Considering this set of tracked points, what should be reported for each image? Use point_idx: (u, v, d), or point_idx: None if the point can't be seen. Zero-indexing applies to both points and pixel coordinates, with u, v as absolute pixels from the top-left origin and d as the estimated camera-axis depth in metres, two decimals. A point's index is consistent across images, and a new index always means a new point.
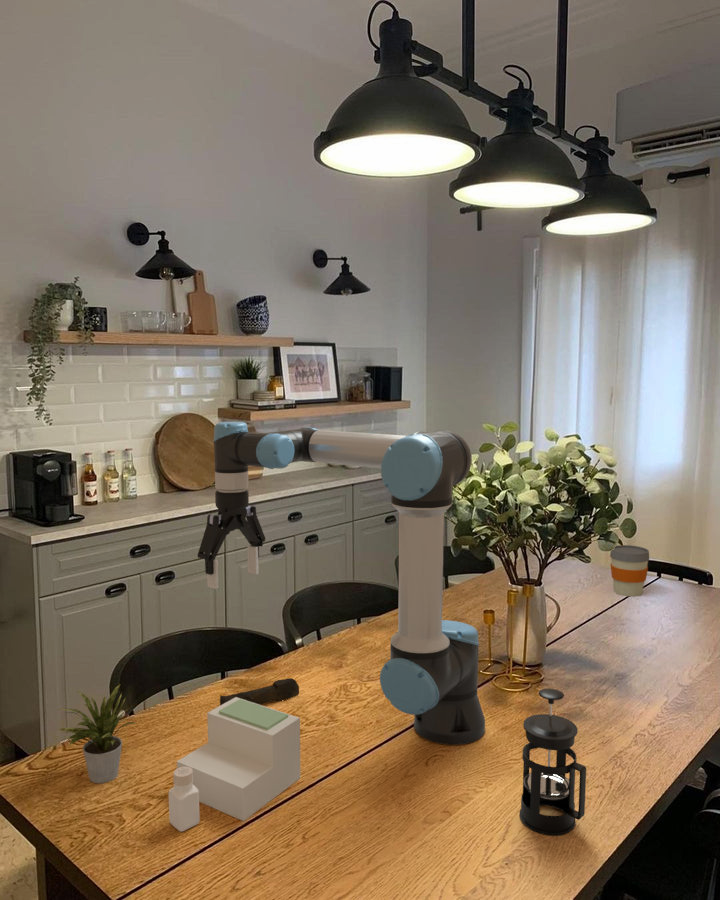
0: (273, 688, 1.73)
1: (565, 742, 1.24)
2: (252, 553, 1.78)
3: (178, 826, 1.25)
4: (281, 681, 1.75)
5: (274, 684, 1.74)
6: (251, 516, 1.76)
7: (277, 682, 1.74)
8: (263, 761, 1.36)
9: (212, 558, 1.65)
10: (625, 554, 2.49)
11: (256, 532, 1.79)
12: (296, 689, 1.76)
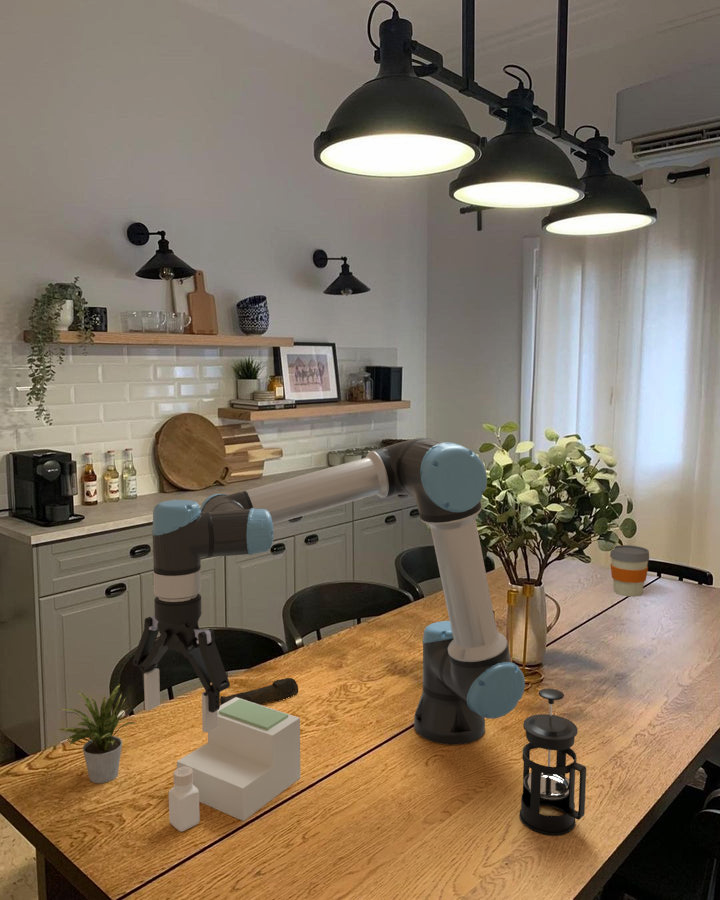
0: (273, 688, 1.73)
1: (565, 742, 1.24)
2: None
3: (178, 826, 1.25)
4: (280, 681, 1.75)
5: (274, 684, 1.74)
6: None
7: (277, 682, 1.75)
8: (263, 761, 1.36)
9: (141, 668, 1.28)
10: (625, 554, 2.49)
11: None
12: (295, 688, 1.77)
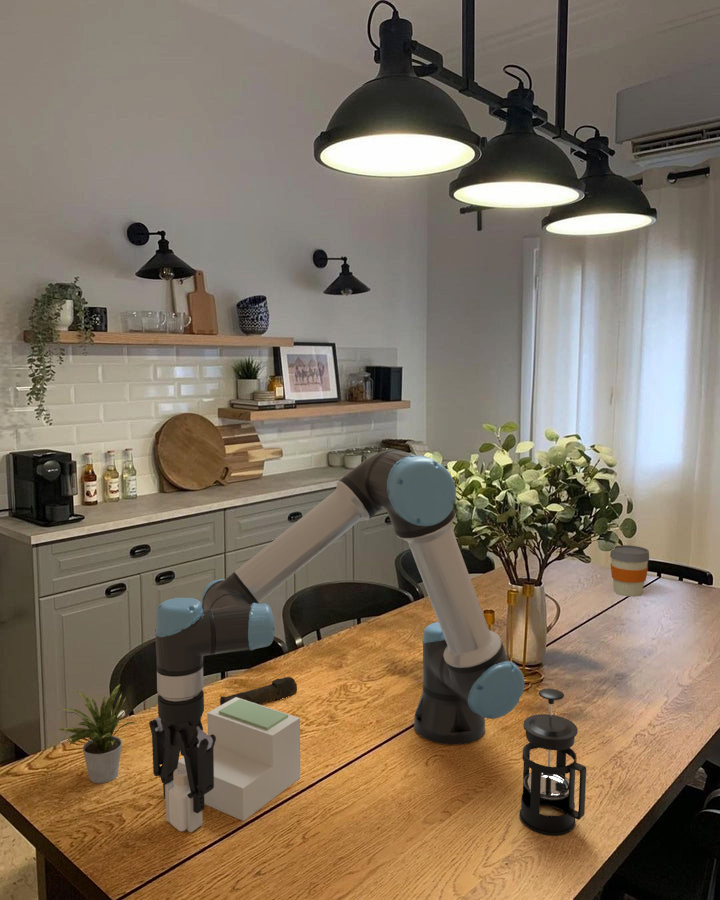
0: (272, 687, 1.73)
1: (565, 742, 1.24)
2: None
3: (178, 826, 1.25)
4: (280, 680, 1.76)
5: (273, 683, 1.74)
6: None
7: (276, 681, 1.75)
8: (263, 761, 1.36)
9: (162, 780, 1.28)
10: (625, 554, 2.49)
11: None
12: (294, 687, 1.77)
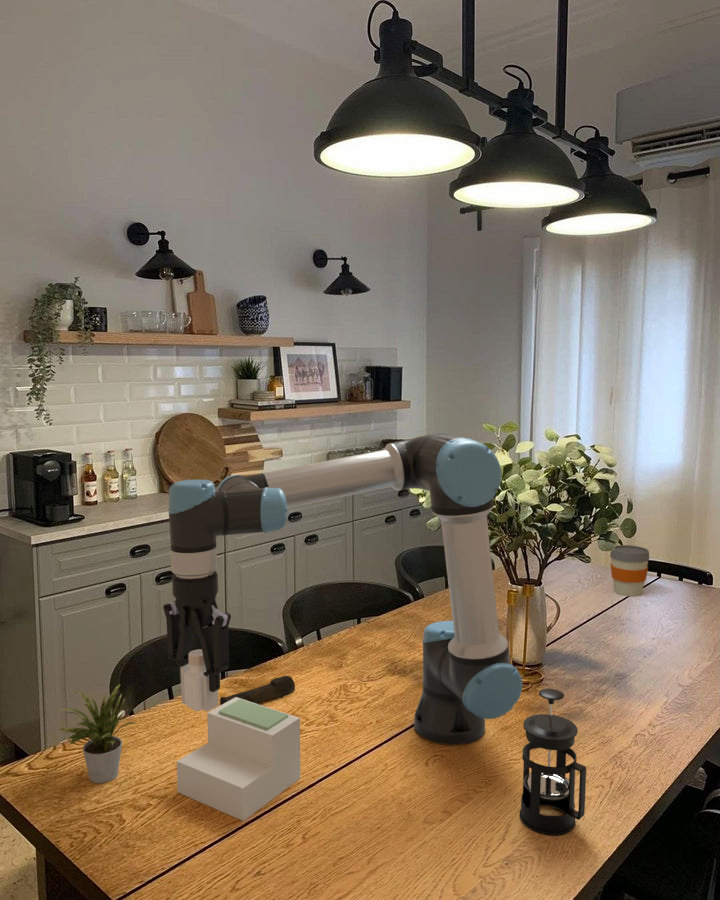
0: (271, 686, 1.74)
1: (565, 742, 1.24)
2: None
3: (194, 706, 1.26)
4: (278, 679, 1.76)
5: (272, 682, 1.75)
6: None
7: (274, 680, 1.75)
8: (263, 761, 1.36)
9: (177, 663, 1.29)
10: (625, 554, 2.49)
11: None
12: (292, 686, 1.78)
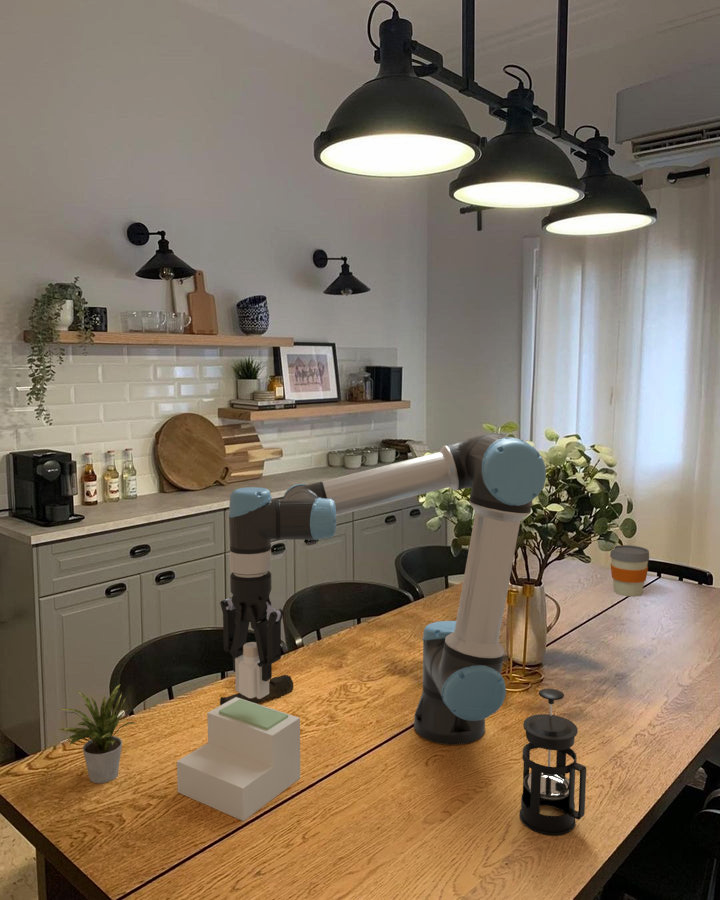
0: (271, 686, 1.74)
1: (565, 742, 1.24)
2: None
3: (248, 693, 1.39)
4: (277, 678, 1.76)
5: (271, 682, 1.75)
6: None
7: (273, 679, 1.76)
8: (263, 761, 1.36)
9: (232, 654, 1.41)
10: (625, 554, 2.49)
11: None
12: (291, 685, 1.79)
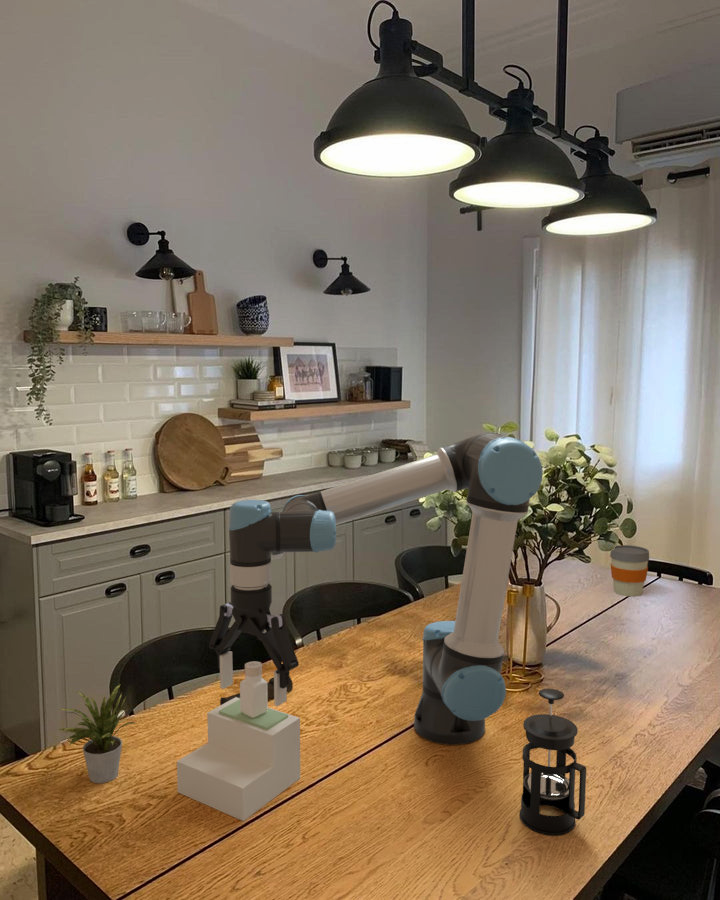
0: (270, 685, 1.74)
1: (565, 742, 1.24)
2: None
3: (250, 713, 1.39)
4: None
5: (271, 681, 1.75)
6: None
7: (273, 679, 1.76)
8: (263, 761, 1.36)
9: (216, 651, 1.43)
10: (625, 554, 2.49)
11: None
12: (290, 685, 1.79)
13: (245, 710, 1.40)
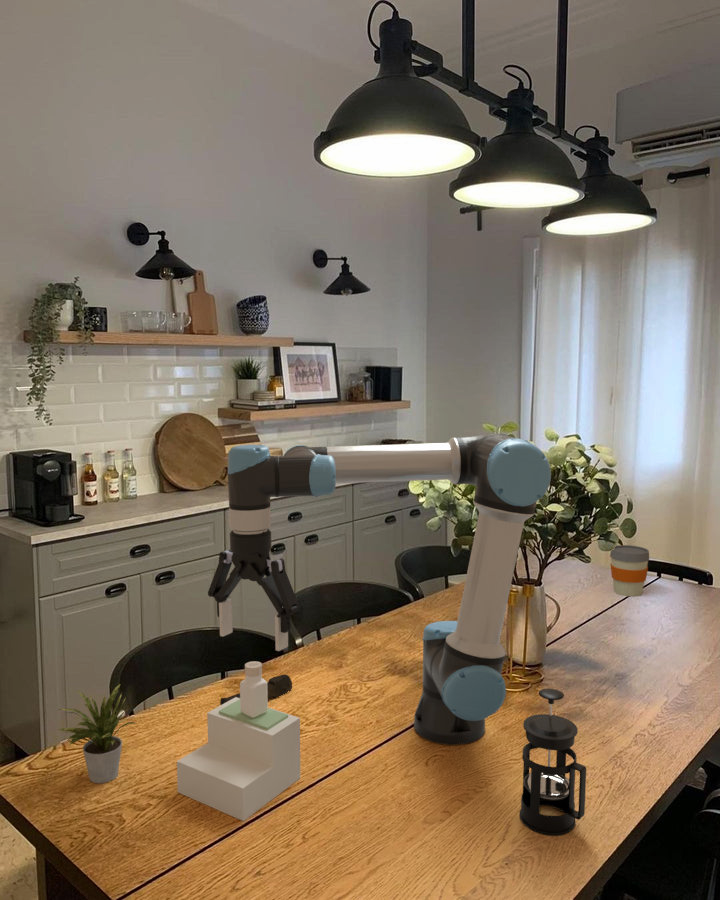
0: (270, 685, 1.74)
1: (565, 742, 1.24)
2: None
3: (250, 713, 1.39)
4: (276, 678, 1.77)
5: (270, 681, 1.75)
6: None
7: (273, 679, 1.76)
8: (263, 761, 1.36)
9: (216, 598, 1.42)
10: (625, 554, 2.49)
11: None
12: (290, 684, 1.79)
13: (245, 710, 1.40)
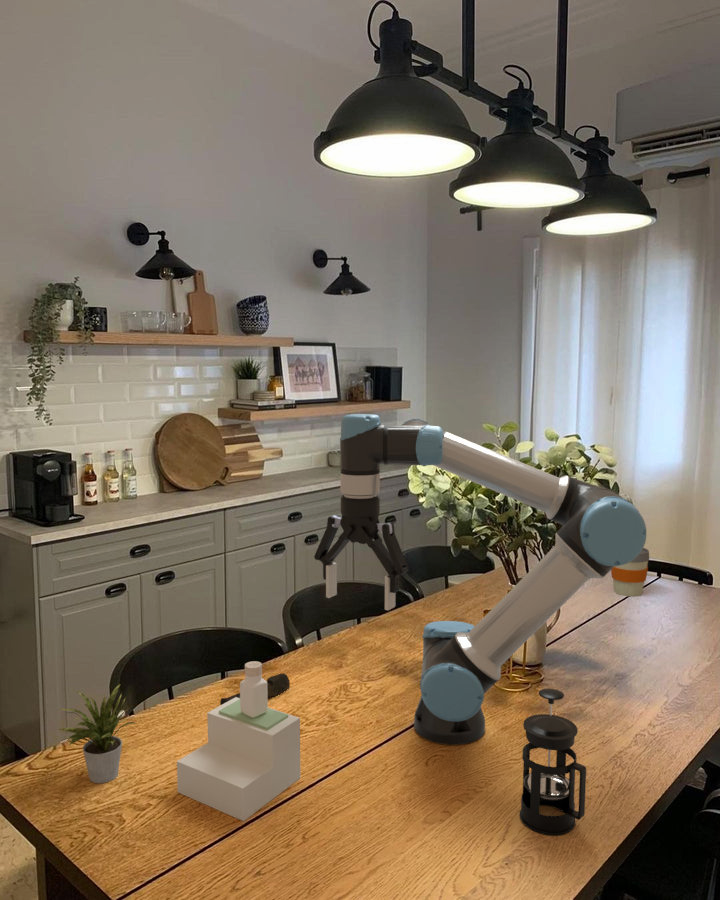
0: (269, 685, 1.75)
1: (565, 742, 1.24)
2: None
3: (250, 713, 1.39)
4: (274, 677, 1.77)
5: (269, 681, 1.76)
6: None
7: (271, 678, 1.76)
8: (263, 761, 1.36)
9: (322, 561, 1.49)
10: None
11: None
12: (288, 683, 1.80)
13: (245, 710, 1.40)
